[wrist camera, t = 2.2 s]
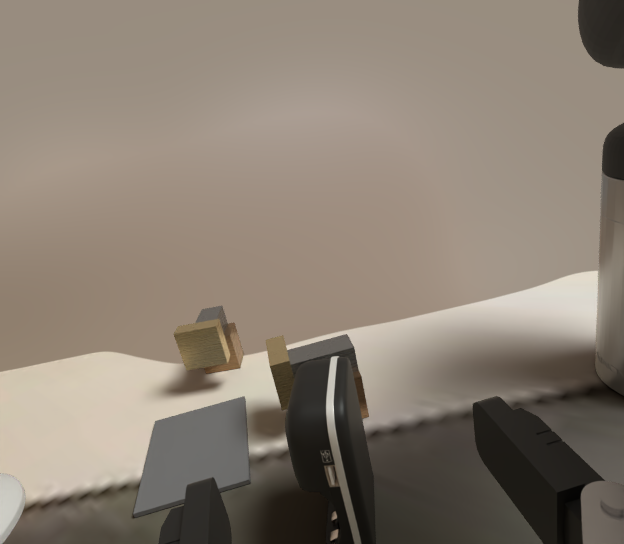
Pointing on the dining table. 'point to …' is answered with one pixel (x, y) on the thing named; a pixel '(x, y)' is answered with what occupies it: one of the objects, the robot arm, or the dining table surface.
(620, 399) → the dining table surface
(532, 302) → the dining table surface
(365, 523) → the battery charger
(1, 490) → the candlestick
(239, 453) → the plate
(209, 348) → the set of rectangular blocks
